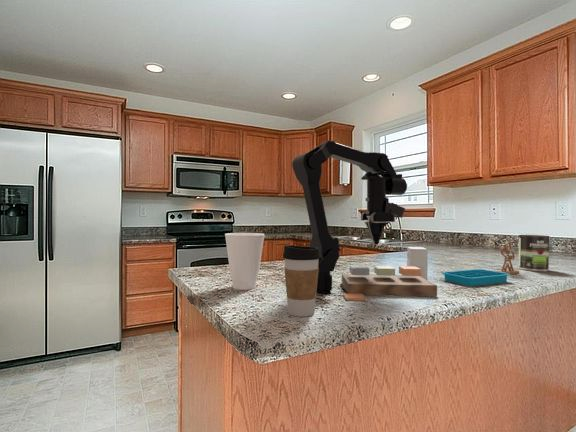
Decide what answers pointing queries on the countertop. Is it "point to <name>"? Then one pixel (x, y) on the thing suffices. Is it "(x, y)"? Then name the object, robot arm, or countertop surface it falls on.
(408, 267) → the terracotta button
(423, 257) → the small box
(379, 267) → the sage button
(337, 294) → the countertop surface
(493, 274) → the ice cube tray
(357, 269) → the slate button
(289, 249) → the coffee cup
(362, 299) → the tile
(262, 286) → the countertop surface
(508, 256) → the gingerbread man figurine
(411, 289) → the wooden sorting tray
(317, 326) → the countertop surface
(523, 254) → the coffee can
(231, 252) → the cup
